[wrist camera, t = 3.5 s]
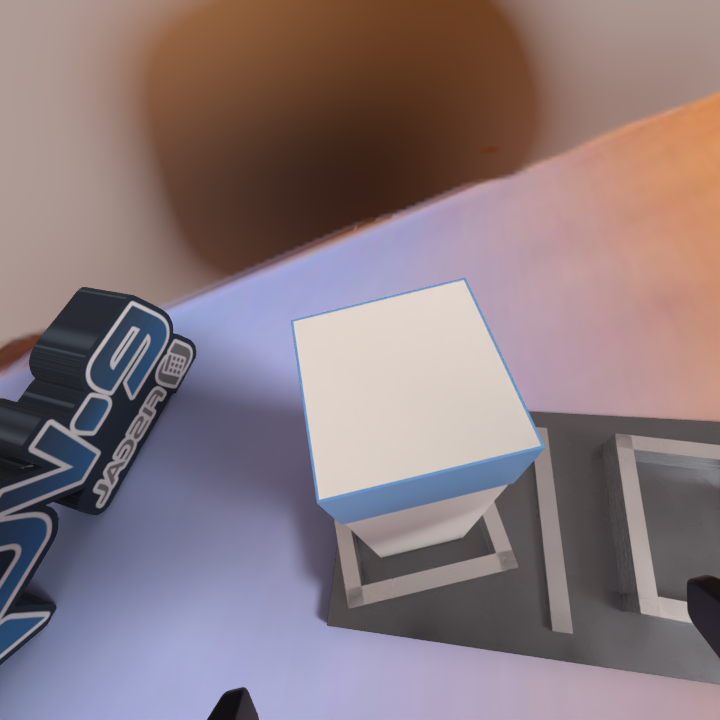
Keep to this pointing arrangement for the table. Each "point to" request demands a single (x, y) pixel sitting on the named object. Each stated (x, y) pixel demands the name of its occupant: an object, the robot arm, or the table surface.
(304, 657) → the table surface
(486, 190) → the table surface
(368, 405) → the plug
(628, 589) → the grey square holder
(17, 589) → the logo
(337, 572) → the panel
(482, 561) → the gray square frame
